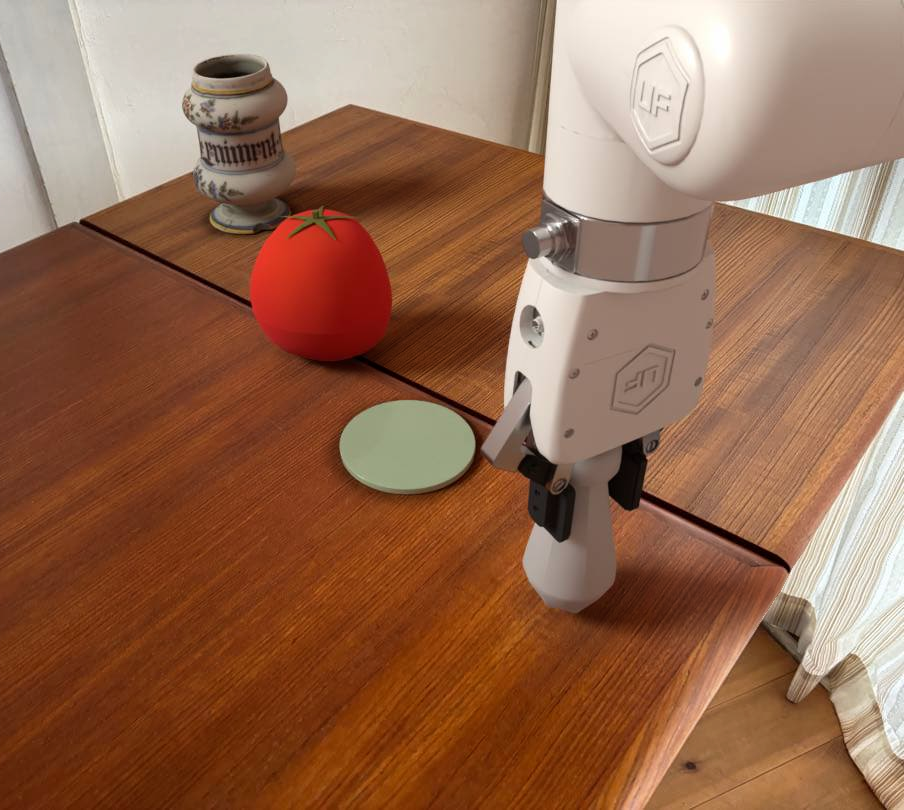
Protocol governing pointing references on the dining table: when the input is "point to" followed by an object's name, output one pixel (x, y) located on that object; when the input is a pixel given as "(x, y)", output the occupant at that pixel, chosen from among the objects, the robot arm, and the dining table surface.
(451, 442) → the coaster
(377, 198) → the dining table surface
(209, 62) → the apothecary jar
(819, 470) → the dining table surface
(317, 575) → the dining table surface
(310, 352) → the tomato
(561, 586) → the salt shaker
